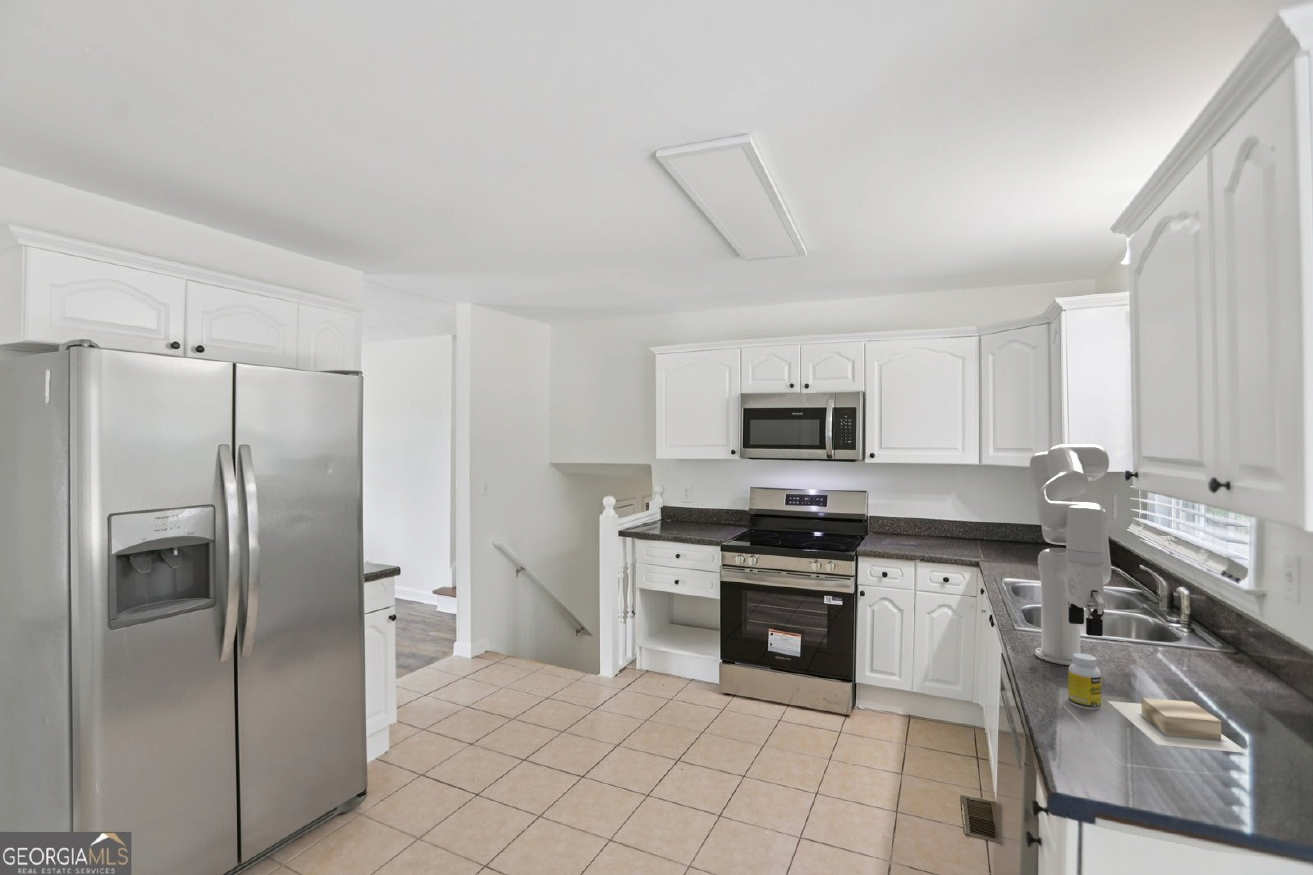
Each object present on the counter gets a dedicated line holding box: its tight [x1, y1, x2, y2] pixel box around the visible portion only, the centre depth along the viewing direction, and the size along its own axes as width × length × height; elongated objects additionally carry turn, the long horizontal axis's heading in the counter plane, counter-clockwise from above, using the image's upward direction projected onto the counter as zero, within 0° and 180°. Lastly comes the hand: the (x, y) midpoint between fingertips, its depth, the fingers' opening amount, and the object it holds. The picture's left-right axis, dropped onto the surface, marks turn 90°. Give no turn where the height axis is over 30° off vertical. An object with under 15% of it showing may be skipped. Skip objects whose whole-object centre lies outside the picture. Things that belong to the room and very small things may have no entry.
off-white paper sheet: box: [1107, 700, 1249, 754], centre depth 140 cm, size 22×16×1 cm
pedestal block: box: [1141, 697, 1222, 740], centre depth 139 cm, size 10×10×4 cm
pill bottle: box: [1068, 652, 1102, 710], centre depth 151 cm, size 6×6×12 cm
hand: (1085, 629), depth 151 cm, fingers open, 9 cm apart
